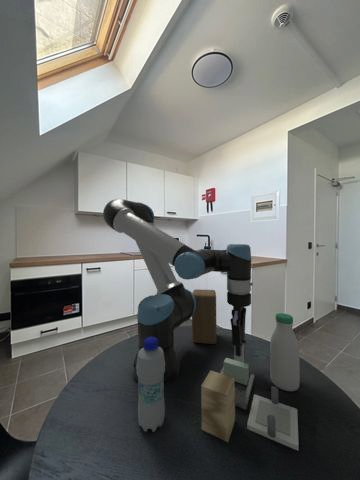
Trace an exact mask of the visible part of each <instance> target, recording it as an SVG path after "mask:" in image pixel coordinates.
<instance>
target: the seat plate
mask: <svg viewBox="0 0 360 480" xmlns="http://www.w3.org/2000/svg"><path fill="white" fill-rule="evenodd" d="M270 394H271V395H270V396H271V397H270V398H271V399H269V398H266V397H264V396H260V395H258V394H253V397H252V399H253V400H252V402H251V407H250V411H249V415H248V419H247V424H246V426H247V427H246V429H247V430H249V431H251V432H253V433H255V434H257V435H261V436H263V437H265V438H267V439H269V440H272V441H274V442H275V443H276V442H277V443H279V444H282V445H283V446H285V447H288V448H291V449H293V450H295V451H298V452H299V423H298V419H299V418H298V409H297V408H295V407H293V406H289V405H286V404H283V403H282V402H279V388H278V387H277V386H275V385H272V386H271V387H270Z"/></svg>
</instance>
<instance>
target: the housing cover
mask: <svg viewBox="0 0 360 480" xmlns="http://www.w3.org/2000/svg"><path fill="white" fill-rule="evenodd" d="M223 366H224V375H226V376H230V377H233V378H235V382H236V383H238V384H241V385H245V386H248V382H249V379H250V373H249V372H250V364H249V363H246V362H244V363H243V362H240V361H236V360H234V359H232V358H228V357H225V359H224V360H223Z"/></svg>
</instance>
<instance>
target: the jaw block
mask: <svg viewBox="0 0 360 480" xmlns="http://www.w3.org/2000/svg"><path fill="white" fill-rule="evenodd" d="M235 385H236V384H235V378H233V377H230V376H226V375H223V374H220V372H217V371H214V370H210V371H209V372H208V374H207V376H206V377H205V378H204V381H203V382H202V383H201V388H200V389H201V390H200V393H201V395H200V396H201V398H200V399H201V400H200V401H201V405H200V406H201V430H202V431H203V432H206V433H208V434H210V435H212V436H214V437H216V438H218V439H220V440H223V441H224V442H226V443H229V441H230V437H231V434H232V431H233V429H234V425H235V421H236V406H235V388H236V387H235Z"/></svg>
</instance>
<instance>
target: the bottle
mask: <svg viewBox="0 0 360 480" xmlns="http://www.w3.org/2000/svg"><path fill="white" fill-rule="evenodd" d="M136 369H137V376H138V382H137V386H138V387H137V389H138V391H137V392H138V393H137V395H138V401H137V421H138V425H139V426H140V427H141V428H142V430H143V432H146V433H147V432H148V431H149V429H150V430H151V431H152V433H154V432H156V430H157V429H158V428H161V427H162V426H163V424H164V421H165V415H166V406H165V405H166V404H165V388H164V387H165V386H164V372H165V359H164V352H163V350H162V348H160V347H158V339H157V338H156V337H148V338H146V339H145V340H144V348H142V349H141V350H140V351H139V352H138V358H137V365H136Z"/></svg>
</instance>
